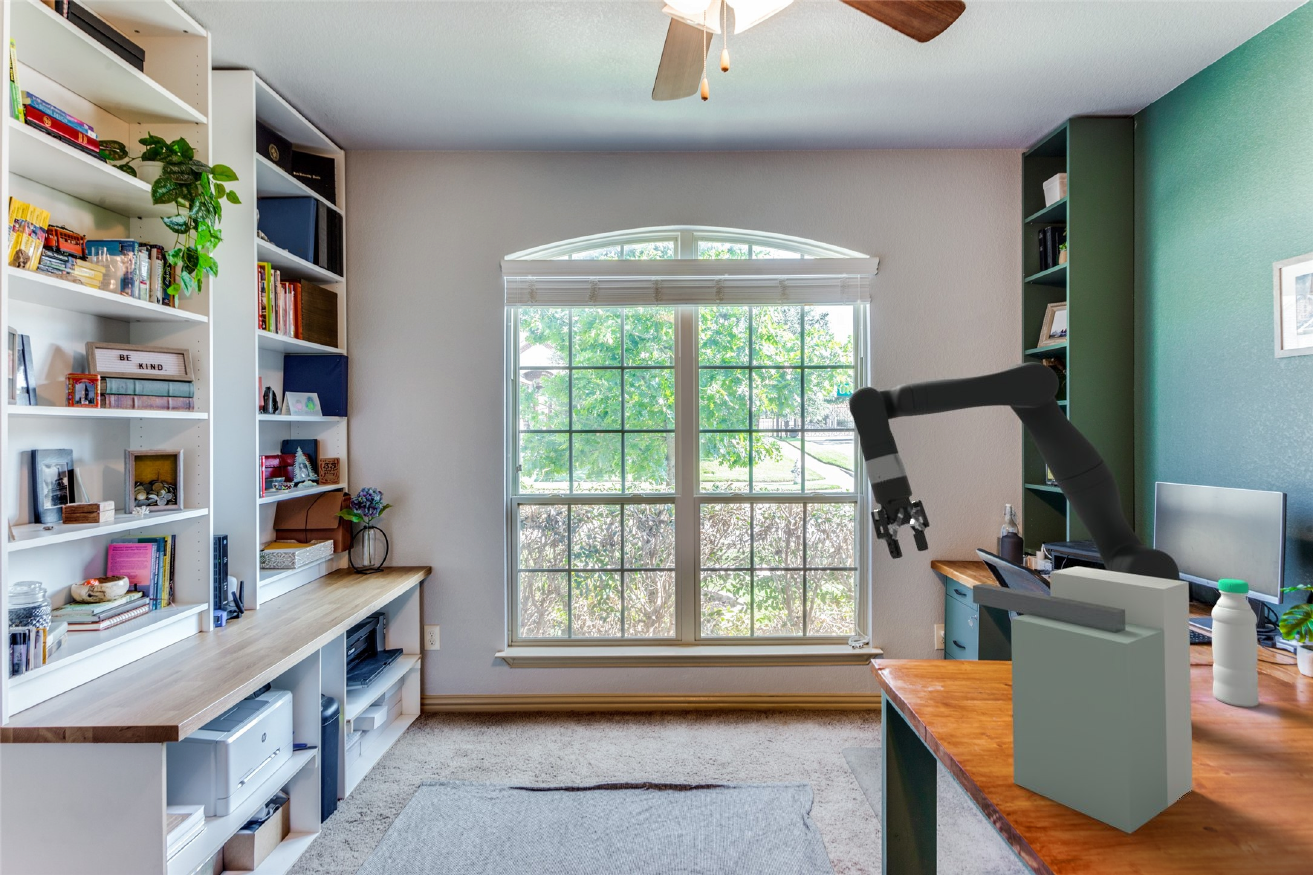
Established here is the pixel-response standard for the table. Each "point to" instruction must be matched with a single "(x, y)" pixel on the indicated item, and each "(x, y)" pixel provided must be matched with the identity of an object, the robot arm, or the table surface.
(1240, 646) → the water bottle
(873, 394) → the robot arm
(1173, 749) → the stepped stand
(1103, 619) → the steel bar
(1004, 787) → the table surface
